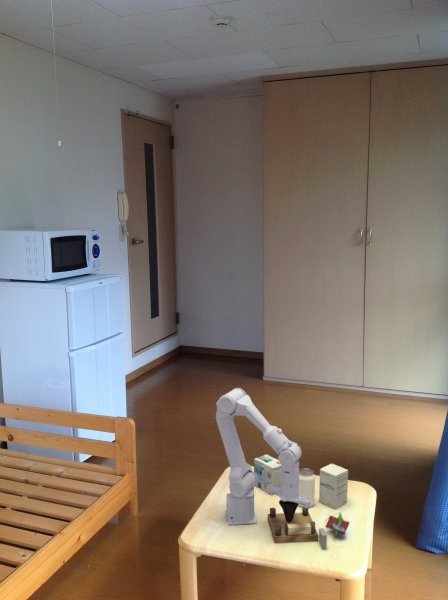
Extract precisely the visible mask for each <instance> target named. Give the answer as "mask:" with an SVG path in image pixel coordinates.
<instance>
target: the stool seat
mask: <svg viewBox="0 0 448 600" xmlns="http://www.w3.org/2000/svg"><path fill="white" fill-rule="evenodd" d="M301 511H302V512H295V514H294V517H293V521H291V522H290V523H288V522H286V519H285V515H284V512H283V513H281V512H280V513H277V508H275V507H270V508H269V513H268V514H267V522H268V526H269V530H270V533H271V536H272V540H273V543H274V544H284V543H285V544H288V543H305V542H308V543H309V542H319V532H318V531H317V530H318V529H316V527H315V533H311V534H299V535H286V534H285V524H300V523H310V525H311V521H313V519H312V516H311V515H310V512H309V508H305V506H303V507H301Z"/></svg>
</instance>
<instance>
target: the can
mask: <svg viewBox="0 0 448 600" xmlns="http://www.w3.org/2000/svg"><path fill="white" fill-rule="evenodd" d="M299 494H301V495H302V496H304V497H305V498H307V499H308V500H311V504H310V507H308V509H309V508H312V507H313V506H315V502H316V501H315V499H316V475H315V472H314V470H312V469H310V468H305V467H304V468H303V467H302V468H299ZM298 506H299V507H301V508H302V507H303V505H300V504H299V505H298Z"/></svg>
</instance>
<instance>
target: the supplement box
mask: <svg viewBox="0 0 448 600" xmlns="http://www.w3.org/2000/svg"><path fill="white" fill-rule="evenodd" d="M348 481H349V470H348V469H346V468H344V467H342V466H339V465H336V464H334V463H330V464H327V465H326V466H322V468H320V469H319V487H318V488H319V492H318V493H319V494H318V495H319V496H318V503H322V504H324V505H325V506H328V507H330V508H332V509H334V510H336V509H338V508H340V507H342V506H343V505H345V504H347V503H348V486H349V485H348Z"/></svg>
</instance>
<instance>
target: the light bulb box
mask: <svg viewBox="0 0 448 600" xmlns="http://www.w3.org/2000/svg"><path fill="white" fill-rule="evenodd" d="M253 472H254V473H255V474H256V476H257V484H256V485H255V486H254V487H256V488H259V489H260V490H261V491H263V492H265V493H267V494H268V495H270V496H275V495H274V494H273V495H271V494H270V488H272V487H277V488H281V463H280V462H279V459H278V458H274V457H273V456H270V455H269V454H267V453H266V454H263V455H260V456H258V457H256V458H254V459H253Z"/></svg>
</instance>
